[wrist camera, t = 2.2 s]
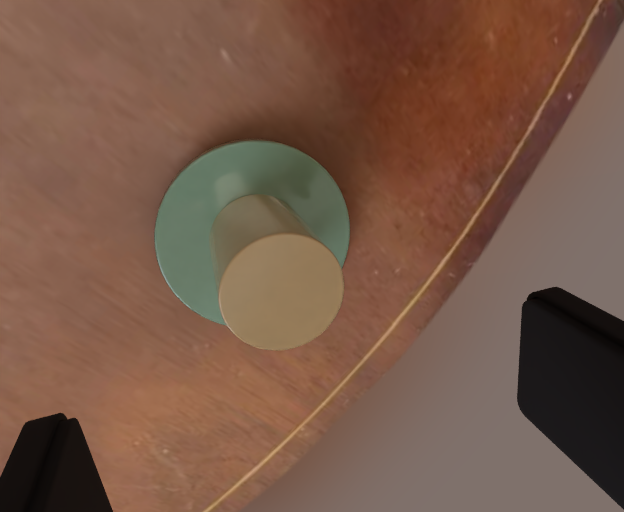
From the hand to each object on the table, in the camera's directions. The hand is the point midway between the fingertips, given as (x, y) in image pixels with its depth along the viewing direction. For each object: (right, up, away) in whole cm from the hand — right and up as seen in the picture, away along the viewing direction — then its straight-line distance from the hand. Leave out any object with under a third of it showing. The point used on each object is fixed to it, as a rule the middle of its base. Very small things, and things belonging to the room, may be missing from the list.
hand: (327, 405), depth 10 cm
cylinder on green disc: (-3, +4, +11) cm, 12 cm away
